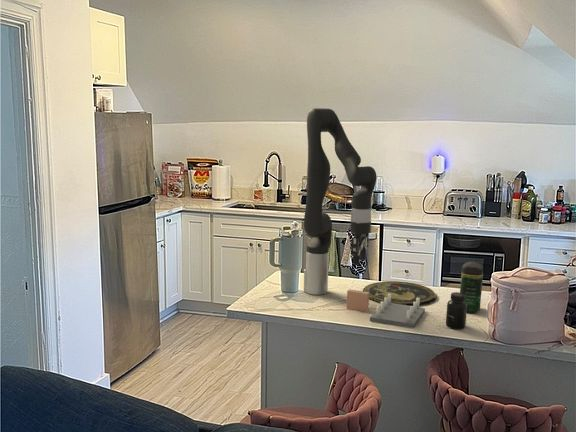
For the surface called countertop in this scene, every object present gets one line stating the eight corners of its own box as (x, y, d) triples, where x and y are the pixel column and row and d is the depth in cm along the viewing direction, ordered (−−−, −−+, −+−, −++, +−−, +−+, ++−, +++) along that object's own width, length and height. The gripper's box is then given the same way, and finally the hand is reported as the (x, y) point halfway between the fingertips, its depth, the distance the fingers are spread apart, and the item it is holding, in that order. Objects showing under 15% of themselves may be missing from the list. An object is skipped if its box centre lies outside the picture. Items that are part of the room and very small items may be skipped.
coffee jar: (479, 315, 225) (482, 267, 222) (457, 312, 228) (460, 264, 225) (481, 307, 234) (484, 261, 231) (460, 304, 237) (463, 259, 233)
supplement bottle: (444, 328, 211) (446, 295, 209) (446, 322, 217) (448, 290, 215) (464, 331, 208) (467, 298, 206) (466, 324, 215) (468, 292, 213)
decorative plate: (376, 277, 267) (444, 287, 254) (376, 281, 268) (443, 291, 254) (351, 295, 241) (425, 308, 228) (351, 300, 242) (425, 312, 228)
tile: (346, 308, 230) (347, 291, 229) (348, 306, 232) (349, 289, 231) (366, 311, 227) (367, 294, 225) (368, 309, 229) (369, 292, 228)
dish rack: (369, 320, 217) (370, 306, 216) (383, 305, 234) (384, 292, 233) (413, 328, 210) (414, 313, 209) (424, 311, 227) (425, 298, 226)
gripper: (357, 216, 231) (355, 257, 234) (345, 222, 218) (343, 265, 221) (375, 217, 228) (374, 259, 231) (365, 224, 215) (363, 267, 218)
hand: (359, 262), depth 226 cm, fingers open, 8 cm apart
